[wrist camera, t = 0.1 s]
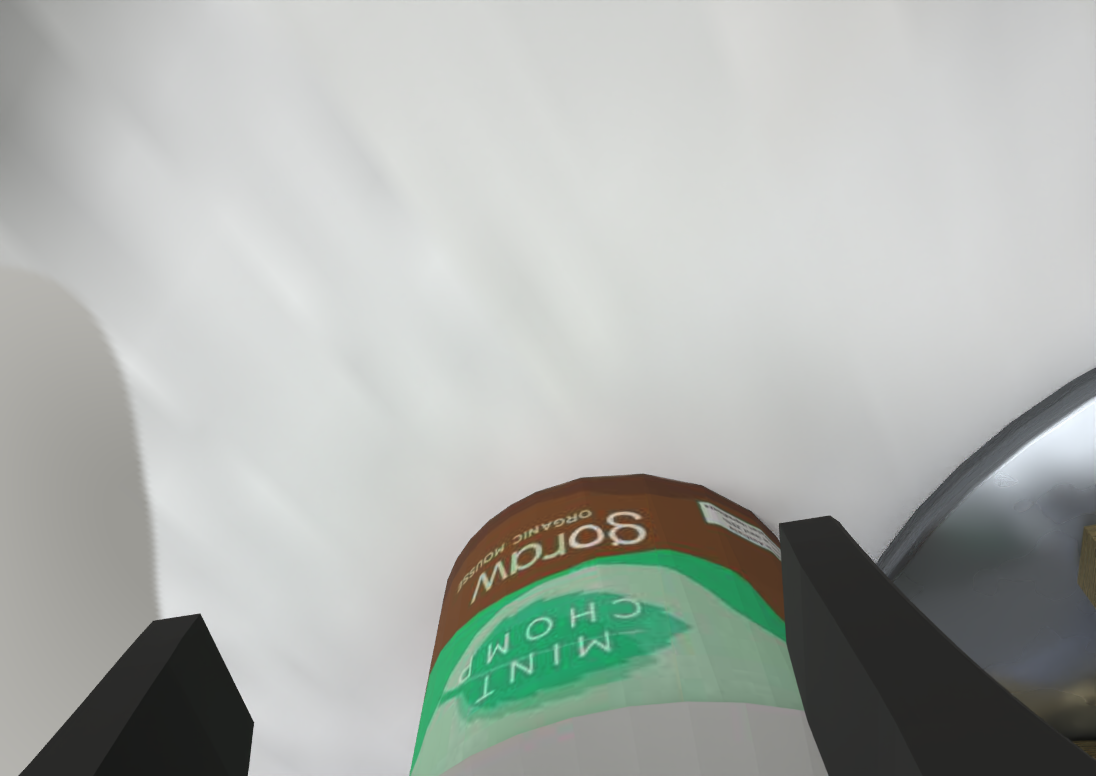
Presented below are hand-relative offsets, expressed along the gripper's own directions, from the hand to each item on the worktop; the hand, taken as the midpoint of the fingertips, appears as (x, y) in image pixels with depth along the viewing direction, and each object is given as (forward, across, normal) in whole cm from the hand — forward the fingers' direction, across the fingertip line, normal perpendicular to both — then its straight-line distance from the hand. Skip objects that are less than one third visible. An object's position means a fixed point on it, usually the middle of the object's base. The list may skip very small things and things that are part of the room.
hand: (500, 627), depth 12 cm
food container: (+10, 0, +8) cm, 13 cm away
